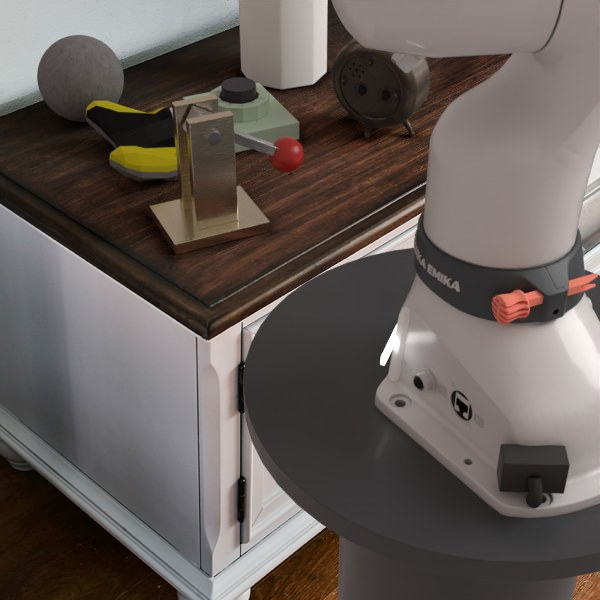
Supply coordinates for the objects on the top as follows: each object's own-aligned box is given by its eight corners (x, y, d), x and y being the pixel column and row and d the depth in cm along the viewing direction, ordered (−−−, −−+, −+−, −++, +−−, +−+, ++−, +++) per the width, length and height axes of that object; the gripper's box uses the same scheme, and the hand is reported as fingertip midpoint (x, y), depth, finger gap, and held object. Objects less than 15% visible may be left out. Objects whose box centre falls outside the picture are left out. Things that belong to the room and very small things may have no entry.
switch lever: (285, 167, 107) (301, 136, 106) (299, 182, 105) (316, 151, 103) (176, 129, 100) (192, 96, 98) (189, 145, 97) (205, 111, 96)
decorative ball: (132, 130, 122) (123, 50, 116) (46, 140, 120) (33, 59, 114) (122, 95, 130) (114, 18, 124) (41, 104, 128) (29, 26, 122)
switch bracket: (240, 195, 110) (235, 82, 102) (270, 231, 104) (267, 115, 96) (150, 215, 106) (138, 101, 99) (175, 254, 100) (165, 136, 93)
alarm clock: (428, 133, 121) (439, -3, 111) (408, 152, 117) (417, 13, 108) (346, 112, 126) (350, -20, 116) (324, 129, 122) (326, -6, 112)
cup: (245, 54, 140) (239, -86, 129) (327, 56, 139) (329, -85, 129) (237, 89, 131) (231, -58, 120) (325, 91, 130) (327, -57, 120)
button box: (299, 139, 120) (299, 107, 118) (219, 156, 117) (217, 124, 114) (259, 98, 129) (258, 68, 126) (183, 113, 125) (181, 83, 123)
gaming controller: (118, 203, 108) (209, 185, 111) (112, 157, 105) (206, 139, 108) (86, 142, 119) (169, 127, 122) (80, 98, 116) (165, 83, 119)
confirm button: (261, 101, 120) (261, 87, 119) (229, 108, 118) (228, 94, 117) (248, 88, 123) (248, 74, 122) (216, 94, 121) (216, 80, 120)
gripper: (396, -111, 105) (309, -3, 108) (511, -55, 90) (406, 69, 93) (431, -72, 109) (346, 31, 112) (546, -12, 94) (445, 106, 97)
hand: (374, 49), depth 102 cm, fingers open, 8 cm apart
